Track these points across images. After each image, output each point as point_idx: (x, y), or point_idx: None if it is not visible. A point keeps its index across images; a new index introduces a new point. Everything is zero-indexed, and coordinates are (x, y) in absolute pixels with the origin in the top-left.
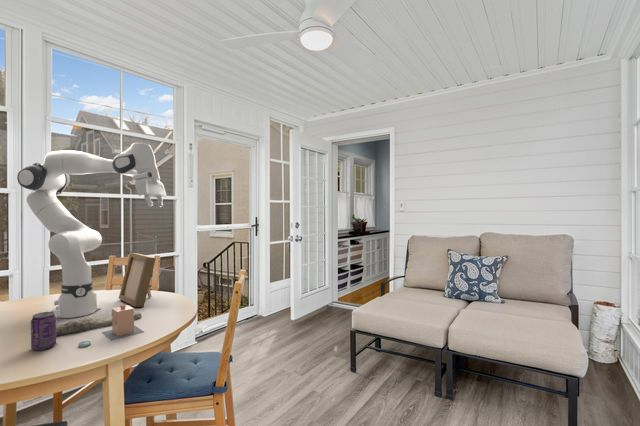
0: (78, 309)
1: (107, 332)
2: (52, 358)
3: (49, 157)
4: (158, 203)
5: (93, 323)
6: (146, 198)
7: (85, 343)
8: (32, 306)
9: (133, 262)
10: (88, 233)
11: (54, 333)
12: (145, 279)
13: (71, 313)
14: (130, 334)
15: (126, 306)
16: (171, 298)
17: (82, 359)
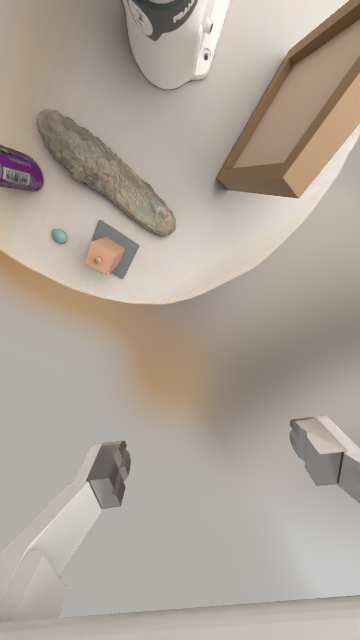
0: (143, 58)
1: (102, 230)
2: (23, 224)
3: None
4: (314, 458)
5: (100, 191)
6: (19, 557)
7: (58, 239)
8: None
9: None
10: None
11: (24, 188)
12: (249, 184)
13: (133, 46)
14: None
15: (108, 257)
16: (288, 210)
17: (43, 261)
